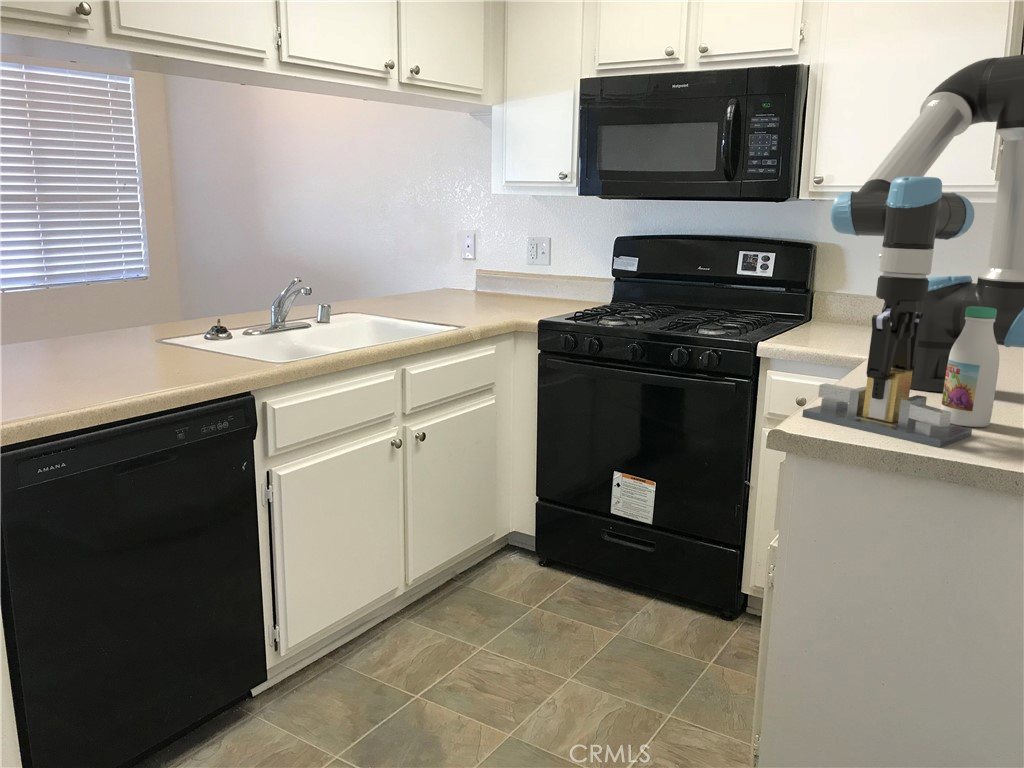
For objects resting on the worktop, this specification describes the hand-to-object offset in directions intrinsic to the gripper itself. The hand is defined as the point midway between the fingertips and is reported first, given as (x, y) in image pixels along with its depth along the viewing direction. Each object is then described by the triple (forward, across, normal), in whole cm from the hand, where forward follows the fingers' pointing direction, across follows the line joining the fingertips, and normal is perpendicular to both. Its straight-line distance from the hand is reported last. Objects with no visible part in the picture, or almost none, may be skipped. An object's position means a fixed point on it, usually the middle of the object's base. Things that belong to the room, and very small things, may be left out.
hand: (885, 415), depth 138 cm
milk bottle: (+2, -15, +7) cm, 17 cm away
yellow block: (0, 0, 0) cm, 0 cm away
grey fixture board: (+2, 0, 0) cm, 2 cm away
